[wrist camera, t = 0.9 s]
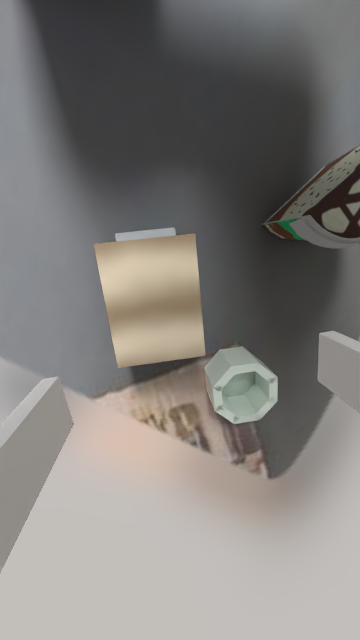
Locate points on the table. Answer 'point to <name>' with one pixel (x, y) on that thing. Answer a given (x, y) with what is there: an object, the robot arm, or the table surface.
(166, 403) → the table surface
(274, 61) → the table surface
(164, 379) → the table surface
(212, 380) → the cup
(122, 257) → the gold metallic plate
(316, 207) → the food container
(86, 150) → the table surface
